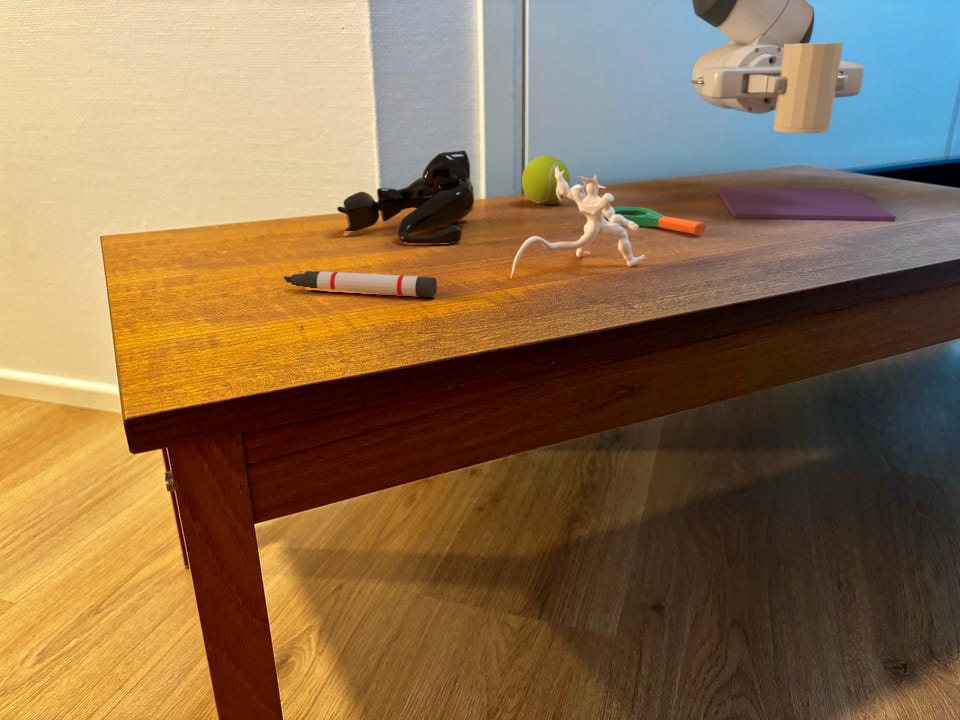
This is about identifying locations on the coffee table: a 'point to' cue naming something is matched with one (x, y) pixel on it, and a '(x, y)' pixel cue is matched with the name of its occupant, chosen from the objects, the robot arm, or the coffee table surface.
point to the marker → (367, 283)
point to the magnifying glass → (658, 220)
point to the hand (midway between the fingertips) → (811, 83)
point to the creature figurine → (589, 221)
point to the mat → (801, 204)
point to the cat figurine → (420, 201)
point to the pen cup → (807, 87)
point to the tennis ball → (543, 179)
